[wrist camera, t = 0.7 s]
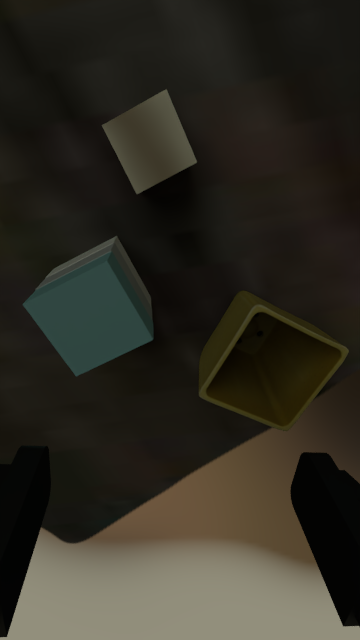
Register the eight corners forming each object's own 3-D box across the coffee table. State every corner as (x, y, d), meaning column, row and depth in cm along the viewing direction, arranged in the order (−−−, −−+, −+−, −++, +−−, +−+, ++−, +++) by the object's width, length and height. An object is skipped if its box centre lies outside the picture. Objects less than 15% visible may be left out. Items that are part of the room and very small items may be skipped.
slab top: (112, 250, 25) (107, 261, 22) (153, 322, 27) (153, 339, 25) (36, 289, 25) (22, 304, 23) (83, 356, 28) (76, 376, 25)
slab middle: (114, 242, 27) (110, 250, 25) (152, 308, 30) (152, 322, 27) (46, 277, 28) (35, 289, 25) (88, 339, 31) (82, 355, 28)
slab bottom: (117, 235, 30) (113, 242, 27) (151, 296, 33) (151, 307, 30) (54, 267, 31) (45, 277, 28) (92, 325, 33) (87, 339, 31)
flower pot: (185, 344, 35) (196, 398, 27) (229, 268, 32) (256, 303, 24) (257, 375, 37) (287, 433, 29) (304, 307, 34) (352, 350, 26)
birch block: (163, 104, 26) (166, 89, 21) (188, 163, 28) (197, 162, 23) (111, 133, 27) (102, 125, 22) (139, 190, 29) (136, 194, 24)
